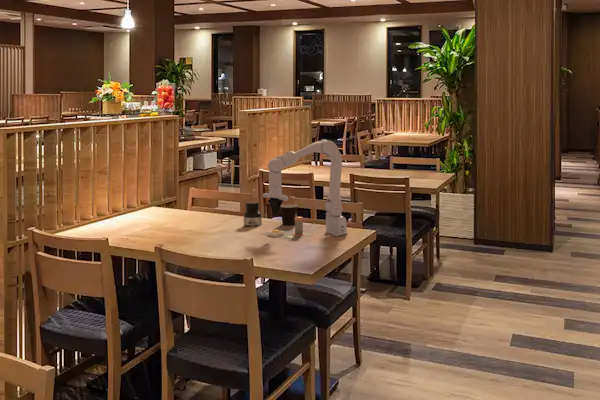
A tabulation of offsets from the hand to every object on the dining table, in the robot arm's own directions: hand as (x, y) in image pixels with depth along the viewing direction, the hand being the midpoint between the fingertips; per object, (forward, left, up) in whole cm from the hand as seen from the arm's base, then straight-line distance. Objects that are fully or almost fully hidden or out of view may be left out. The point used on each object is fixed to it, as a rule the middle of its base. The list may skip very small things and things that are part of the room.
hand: (275, 214), depth 292 cm
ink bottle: (+26, -9, -11) cm, 29 cm away
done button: (0, 0, -9) cm, 9 cm away
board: (-2, -5, -10) cm, 12 cm away
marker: (-7, -8, -10) cm, 14 cm away
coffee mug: (+13, -23, -11) cm, 28 cm away
